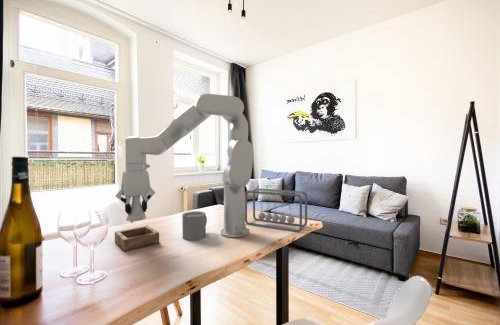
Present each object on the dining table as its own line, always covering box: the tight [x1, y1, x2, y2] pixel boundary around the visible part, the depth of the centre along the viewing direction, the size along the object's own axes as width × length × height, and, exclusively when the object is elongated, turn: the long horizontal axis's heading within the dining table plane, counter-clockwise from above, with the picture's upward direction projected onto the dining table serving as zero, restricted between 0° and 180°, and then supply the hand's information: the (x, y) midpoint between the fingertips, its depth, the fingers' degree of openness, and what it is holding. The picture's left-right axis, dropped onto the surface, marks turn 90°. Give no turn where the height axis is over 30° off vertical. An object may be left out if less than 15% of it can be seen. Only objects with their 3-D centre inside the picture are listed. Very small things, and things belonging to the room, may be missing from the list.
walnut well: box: [114, 225, 160, 253], centre depth 98 cm, size 13×13×4 cm
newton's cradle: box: [245, 187, 308, 233], centre depth 123 cm, size 30×10×18 cm, turn 62°
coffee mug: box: [181, 210, 208, 241], centre depth 108 cm, size 13×10×10 cm
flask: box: [125, 196, 147, 222], centre depth 98 cm, size 7×7×10 cm
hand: (136, 212), depth 98 cm, fingers closed on flask, 5 cm apart
